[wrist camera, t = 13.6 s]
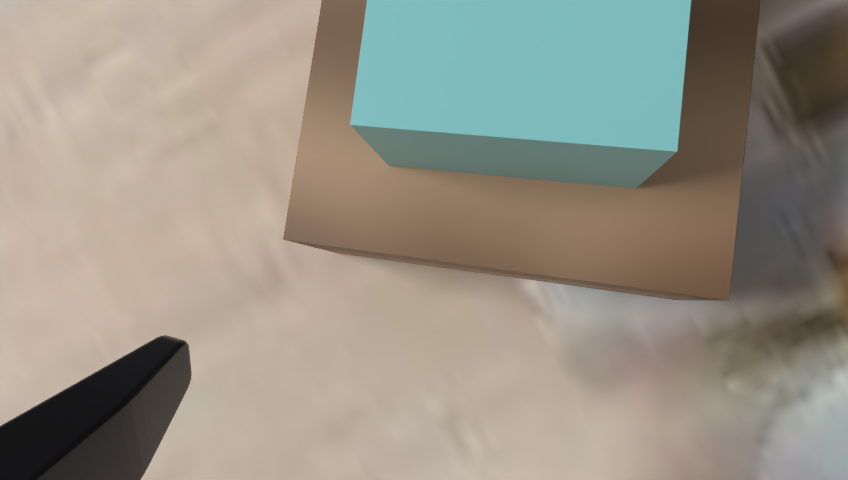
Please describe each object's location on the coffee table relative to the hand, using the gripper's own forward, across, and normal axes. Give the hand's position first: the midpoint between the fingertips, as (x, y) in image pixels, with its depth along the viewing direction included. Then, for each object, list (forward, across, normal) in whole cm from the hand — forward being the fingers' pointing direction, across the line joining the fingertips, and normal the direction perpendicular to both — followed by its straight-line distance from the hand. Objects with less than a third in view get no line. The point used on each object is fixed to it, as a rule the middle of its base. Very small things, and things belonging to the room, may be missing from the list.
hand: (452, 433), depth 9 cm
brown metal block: (+14, 0, 0) cm, 15 cm away
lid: (+11, 0, -3) cm, 11 cm away
